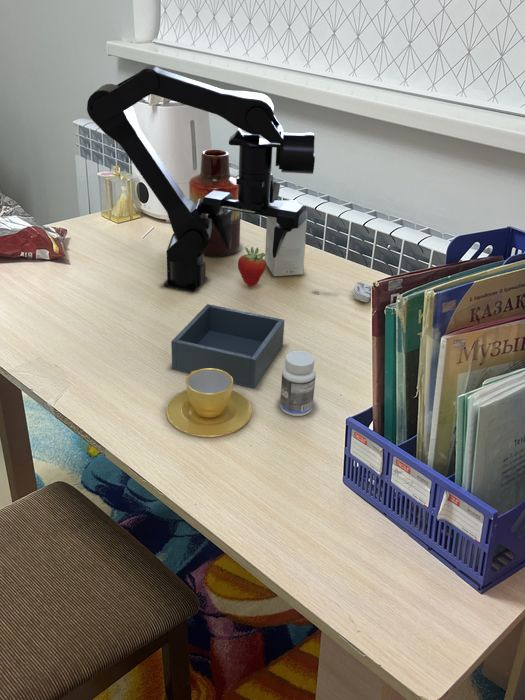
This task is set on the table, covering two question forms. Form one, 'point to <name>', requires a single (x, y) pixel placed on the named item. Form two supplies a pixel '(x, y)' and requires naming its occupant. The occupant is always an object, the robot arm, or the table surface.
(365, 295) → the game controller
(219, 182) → the vase
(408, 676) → the table surface
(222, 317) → the box
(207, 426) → the cup
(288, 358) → the pill bottle
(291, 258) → the small box
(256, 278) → the fruit
